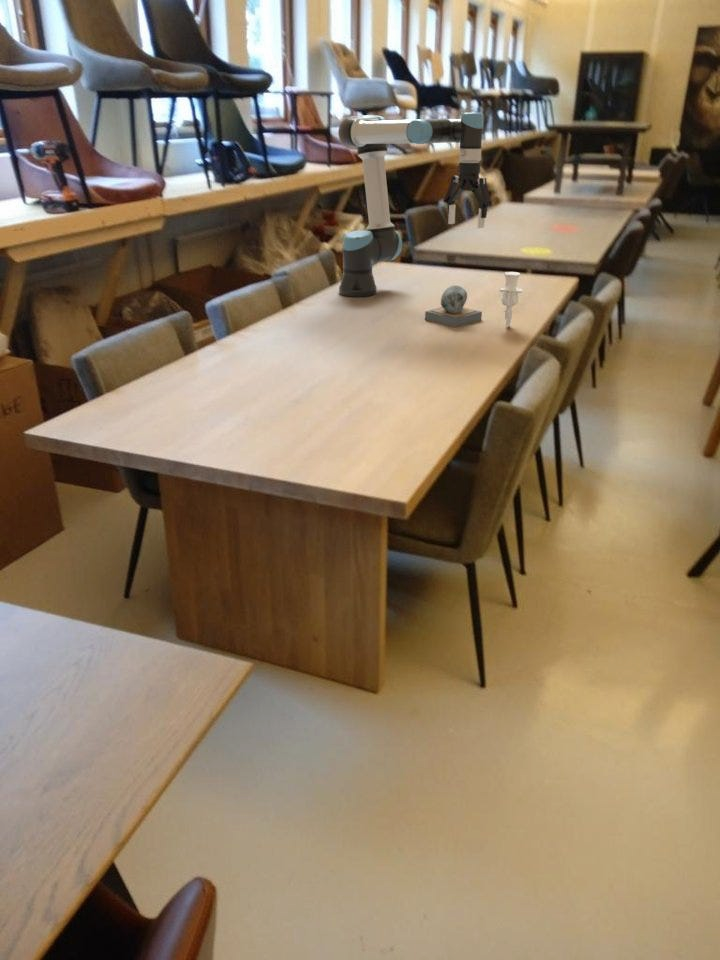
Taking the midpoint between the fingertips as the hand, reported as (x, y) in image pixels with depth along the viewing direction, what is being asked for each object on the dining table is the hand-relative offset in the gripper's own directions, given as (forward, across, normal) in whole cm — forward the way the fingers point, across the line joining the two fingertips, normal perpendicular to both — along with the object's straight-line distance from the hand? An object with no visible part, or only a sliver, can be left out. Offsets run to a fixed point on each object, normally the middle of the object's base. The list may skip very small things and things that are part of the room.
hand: (465, 225), depth 269 cm
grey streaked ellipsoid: (+26, +12, -19) cm, 34 cm away
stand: (+29, +12, -19) cm, 36 cm away
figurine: (+29, +31, -13) cm, 44 cm away
